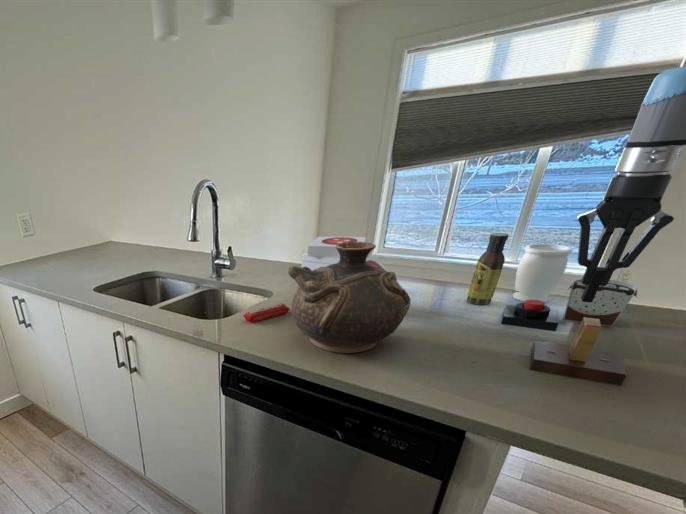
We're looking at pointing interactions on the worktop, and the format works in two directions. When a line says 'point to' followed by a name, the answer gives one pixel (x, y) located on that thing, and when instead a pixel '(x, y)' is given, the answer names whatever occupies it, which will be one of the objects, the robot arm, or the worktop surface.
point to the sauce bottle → (488, 271)
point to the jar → (540, 271)
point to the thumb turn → (585, 339)
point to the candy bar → (266, 312)
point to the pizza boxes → (332, 253)
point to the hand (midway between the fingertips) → (586, 299)
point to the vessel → (348, 301)
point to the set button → (534, 304)
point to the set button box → (530, 317)
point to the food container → (599, 302)
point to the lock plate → (578, 363)
